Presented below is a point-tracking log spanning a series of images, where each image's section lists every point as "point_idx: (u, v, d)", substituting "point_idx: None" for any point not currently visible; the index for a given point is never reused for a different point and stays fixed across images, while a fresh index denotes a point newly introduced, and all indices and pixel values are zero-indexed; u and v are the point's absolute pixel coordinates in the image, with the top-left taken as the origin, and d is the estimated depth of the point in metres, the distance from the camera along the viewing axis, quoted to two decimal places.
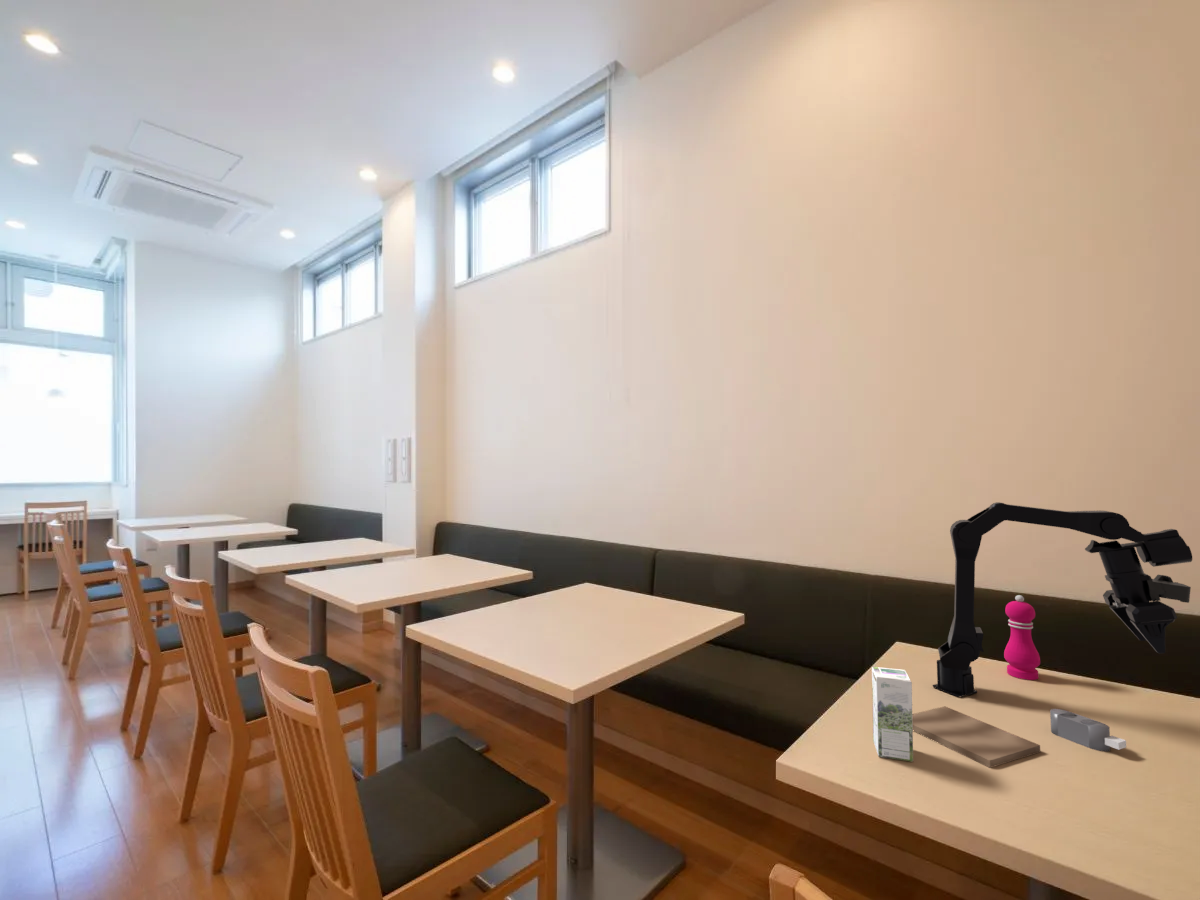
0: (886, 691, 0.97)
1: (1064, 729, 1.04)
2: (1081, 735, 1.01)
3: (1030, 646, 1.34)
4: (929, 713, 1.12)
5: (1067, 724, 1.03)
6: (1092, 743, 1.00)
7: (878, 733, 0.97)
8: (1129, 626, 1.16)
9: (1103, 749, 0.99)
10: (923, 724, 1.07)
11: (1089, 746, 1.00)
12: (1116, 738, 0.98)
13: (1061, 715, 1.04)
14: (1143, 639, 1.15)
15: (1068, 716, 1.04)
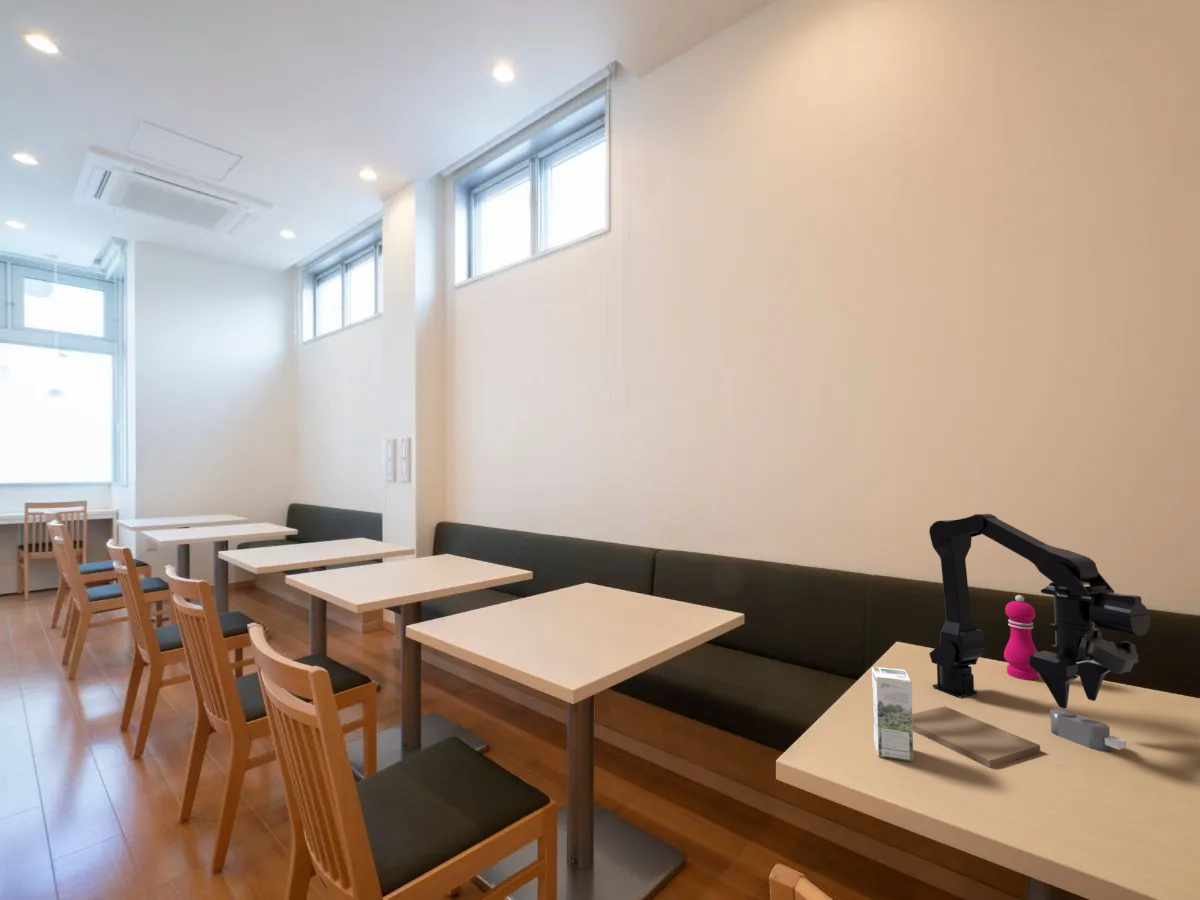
0: (886, 691, 0.97)
1: (1064, 729, 1.04)
2: (1081, 735, 1.01)
3: (1030, 646, 1.34)
4: (929, 713, 1.12)
5: (1067, 724, 1.03)
6: (1092, 743, 1.00)
7: (878, 733, 0.97)
8: (1082, 681, 1.07)
9: (1103, 749, 0.99)
10: (923, 724, 1.07)
11: (1089, 746, 1.00)
12: (1116, 738, 0.98)
13: (1061, 715, 1.04)
14: (1091, 698, 1.05)
15: (1068, 716, 1.04)
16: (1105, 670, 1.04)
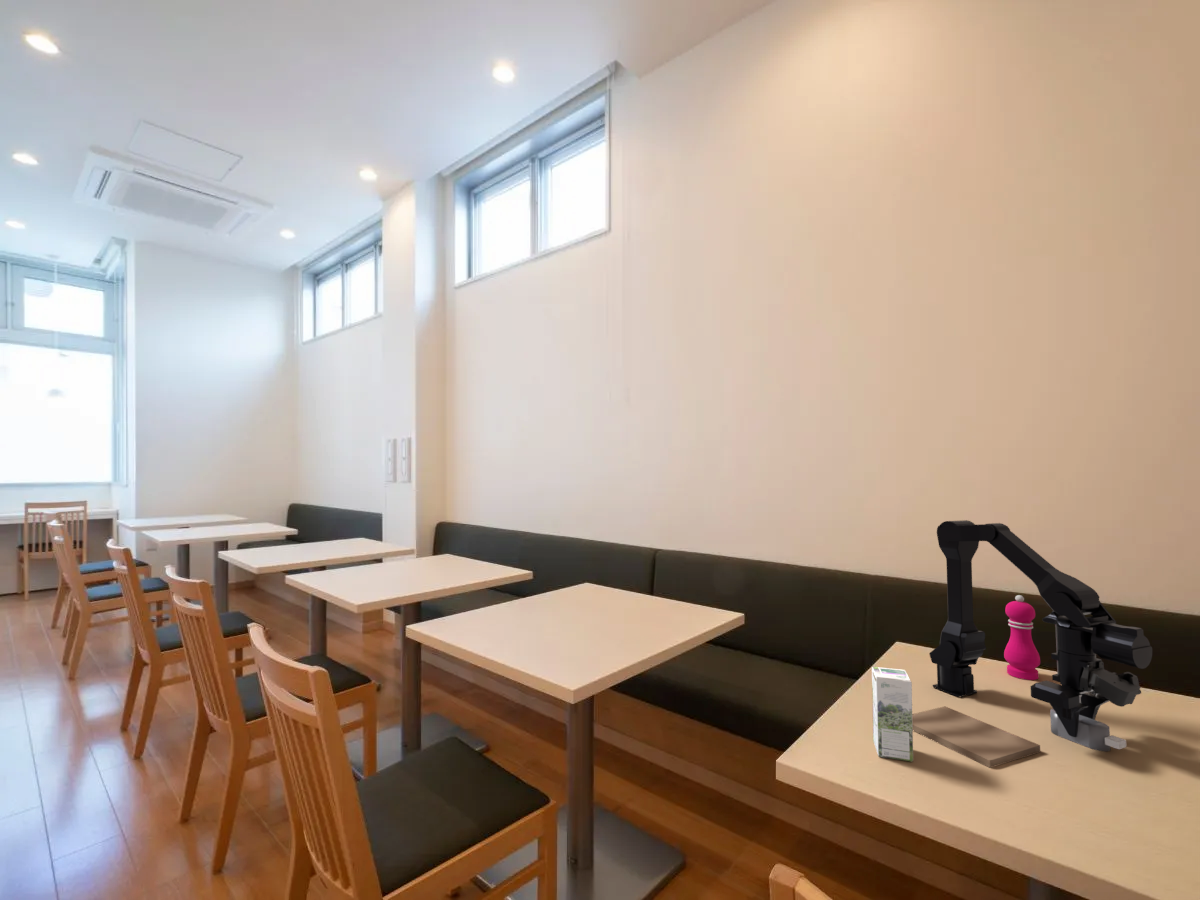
0: (886, 691, 0.97)
1: (1064, 729, 1.04)
2: (1081, 735, 1.01)
3: (1030, 646, 1.34)
4: (929, 713, 1.12)
5: None
6: (1092, 743, 1.00)
7: (878, 733, 0.97)
8: None
9: (1103, 749, 0.99)
10: (923, 724, 1.07)
11: (1089, 746, 1.00)
12: (1116, 738, 0.98)
13: None
14: None
15: None
16: (1100, 702, 1.02)
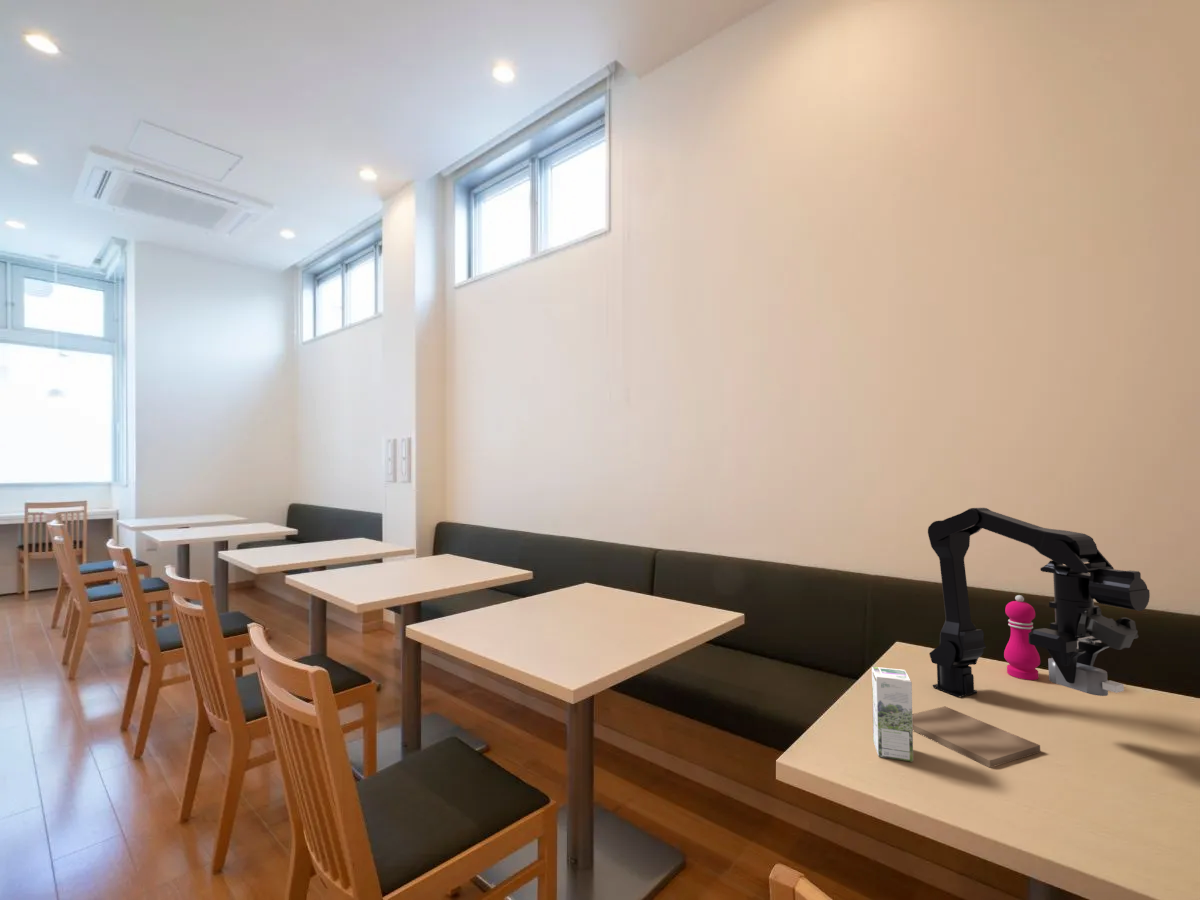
0: (886, 691, 0.97)
1: (1062, 676, 1.04)
2: (1079, 681, 1.02)
3: (1030, 646, 1.34)
4: (929, 713, 1.12)
5: None
6: (1090, 688, 1.00)
7: (878, 733, 0.97)
8: None
9: (1101, 693, 0.99)
10: (923, 724, 1.07)
11: (1087, 691, 1.00)
12: (1114, 682, 0.99)
13: None
14: None
15: None
16: (1097, 649, 1.03)
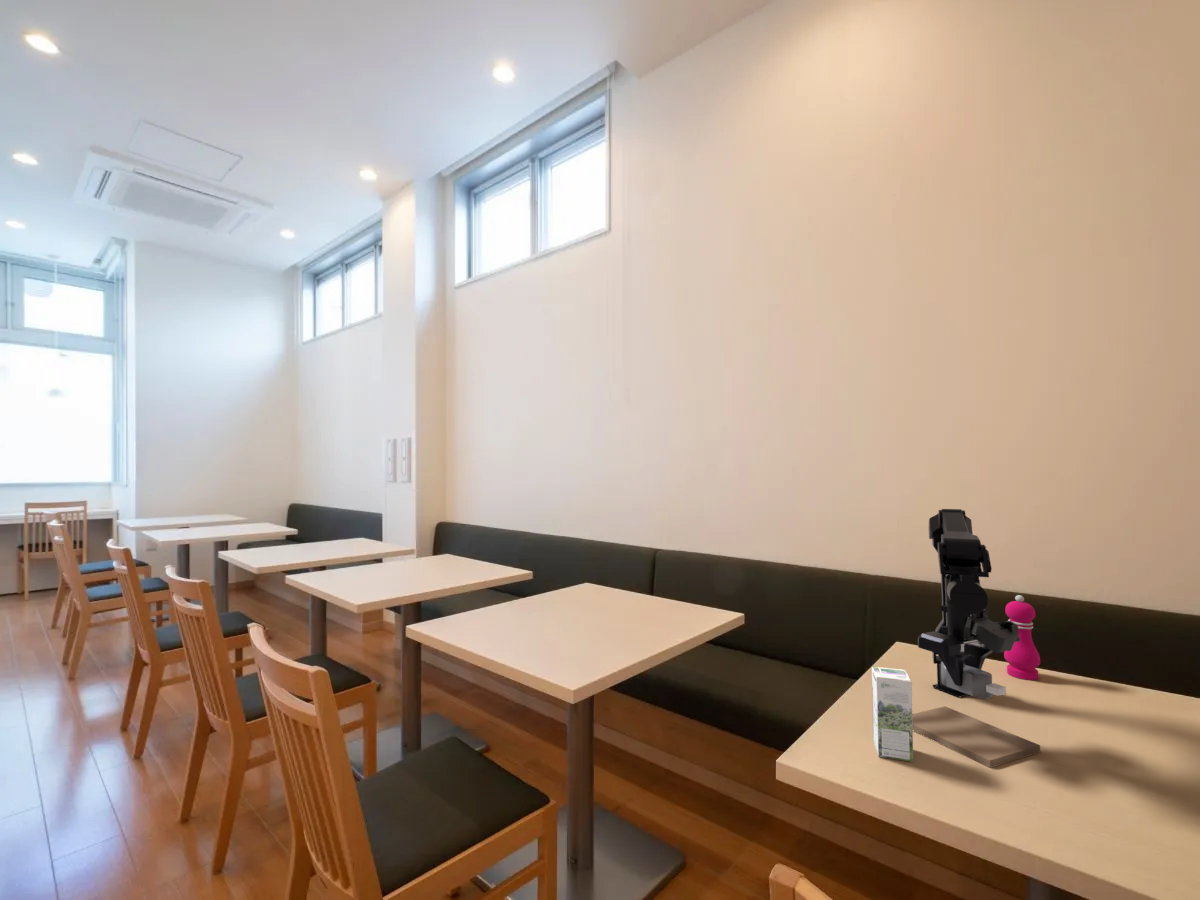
0: (886, 691, 0.97)
1: None
2: (966, 684, 1.03)
3: (1030, 646, 1.34)
4: (929, 713, 1.12)
5: None
6: (975, 691, 1.01)
7: (878, 733, 0.97)
8: (965, 664, 1.07)
9: (985, 696, 1.00)
10: (923, 724, 1.07)
11: (972, 694, 1.02)
12: (997, 685, 1.00)
13: None
14: None
15: None
16: (985, 652, 1.04)
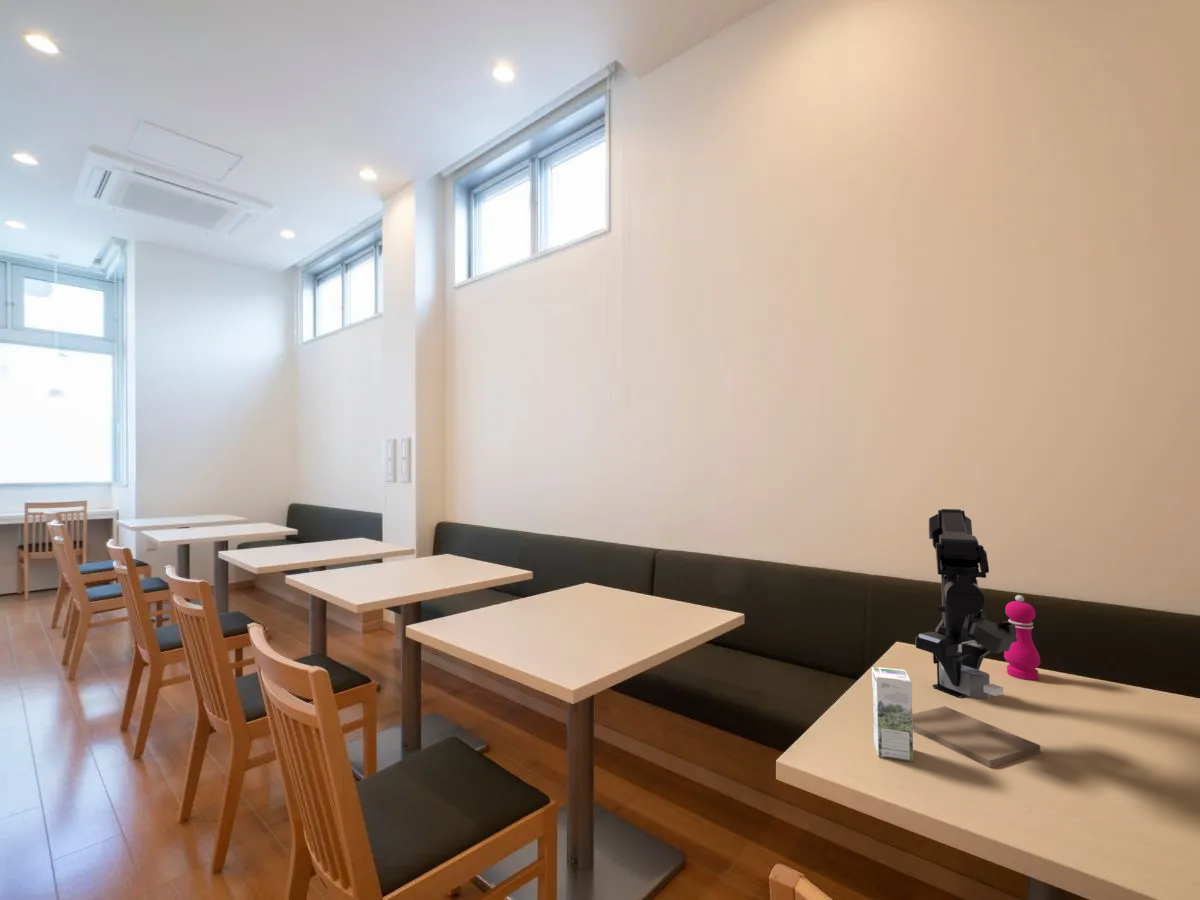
0: (886, 691, 0.97)
1: (949, 679, 1.05)
2: (963, 684, 1.03)
3: (1030, 646, 1.34)
4: (929, 713, 1.12)
5: None
6: (972, 691, 1.01)
7: (878, 733, 0.97)
8: (963, 664, 1.07)
9: (982, 696, 1.00)
10: (923, 724, 1.07)
11: (970, 694, 1.02)
12: (994, 685, 1.00)
13: None
14: None
15: None
16: (982, 652, 1.04)
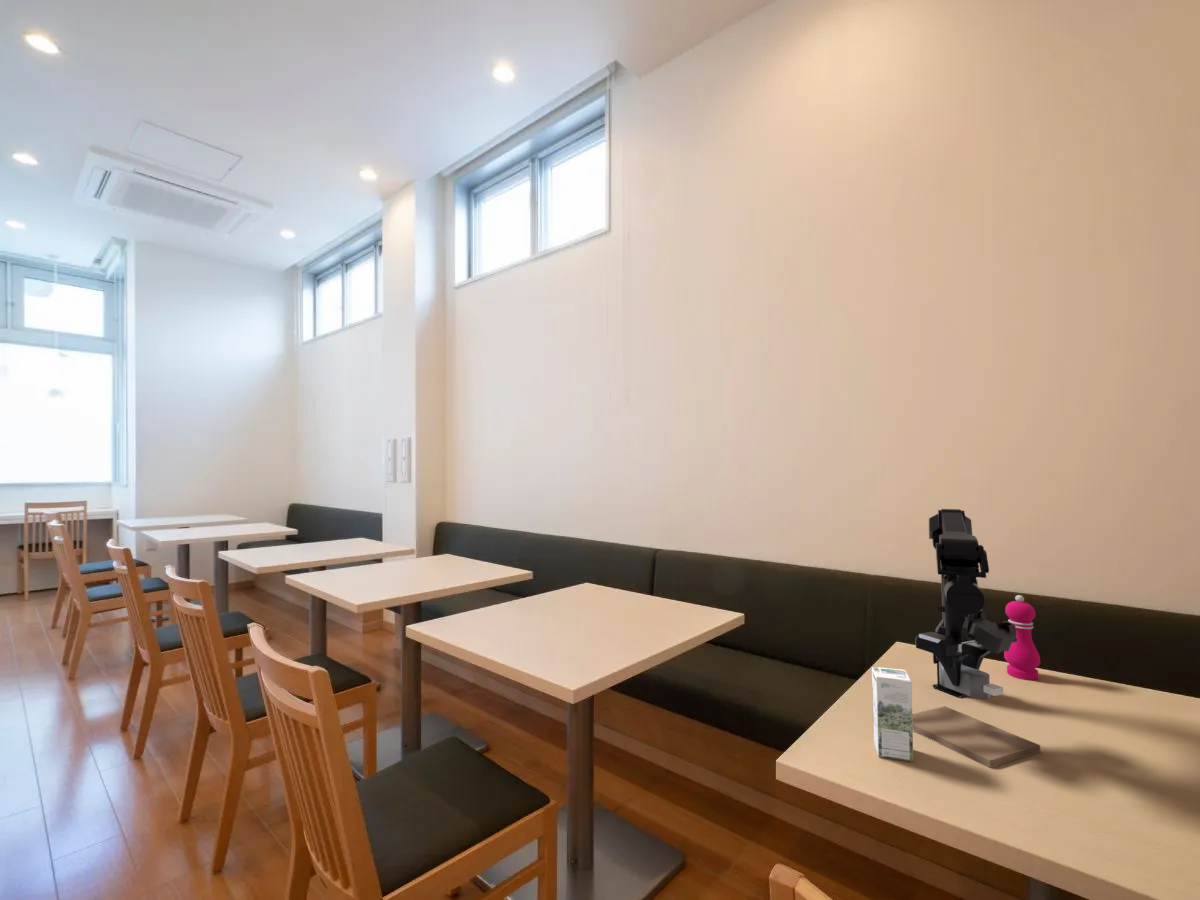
0: (886, 691, 0.97)
1: (949, 679, 1.05)
2: (963, 684, 1.03)
3: (1030, 646, 1.34)
4: (929, 713, 1.12)
5: None
6: (972, 691, 1.01)
7: (878, 733, 0.97)
8: (963, 664, 1.07)
9: (982, 696, 1.00)
10: (923, 724, 1.07)
11: (970, 694, 1.02)
12: (994, 685, 1.00)
13: None
14: None
15: None
16: (982, 652, 1.04)
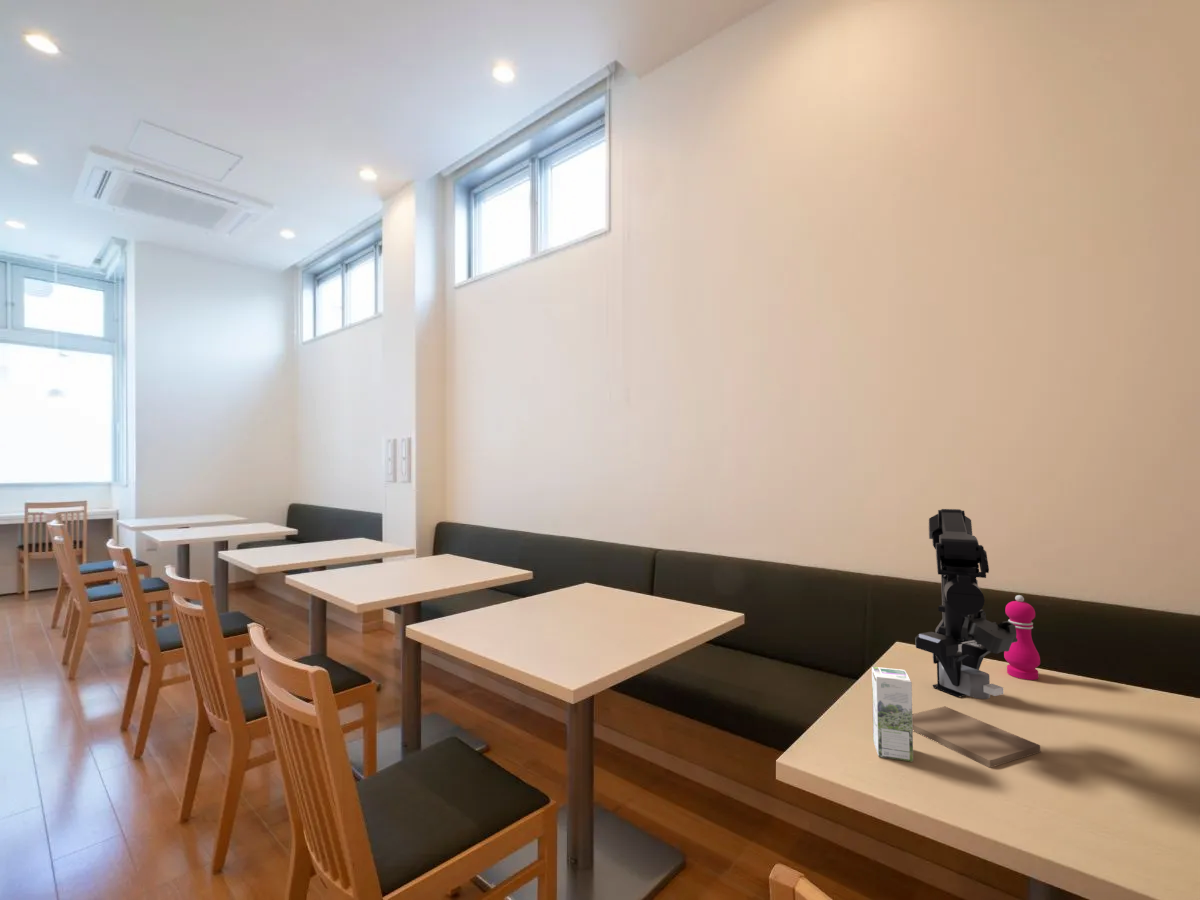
0: (886, 691, 0.97)
1: (949, 679, 1.05)
2: (963, 684, 1.03)
3: (1030, 646, 1.34)
4: (929, 713, 1.12)
5: None
6: (972, 691, 1.01)
7: (878, 733, 0.97)
8: (963, 664, 1.07)
9: (982, 696, 1.00)
10: (923, 724, 1.07)
11: (970, 694, 1.02)
12: (994, 685, 1.00)
13: None
14: None
15: None
16: (982, 652, 1.04)
